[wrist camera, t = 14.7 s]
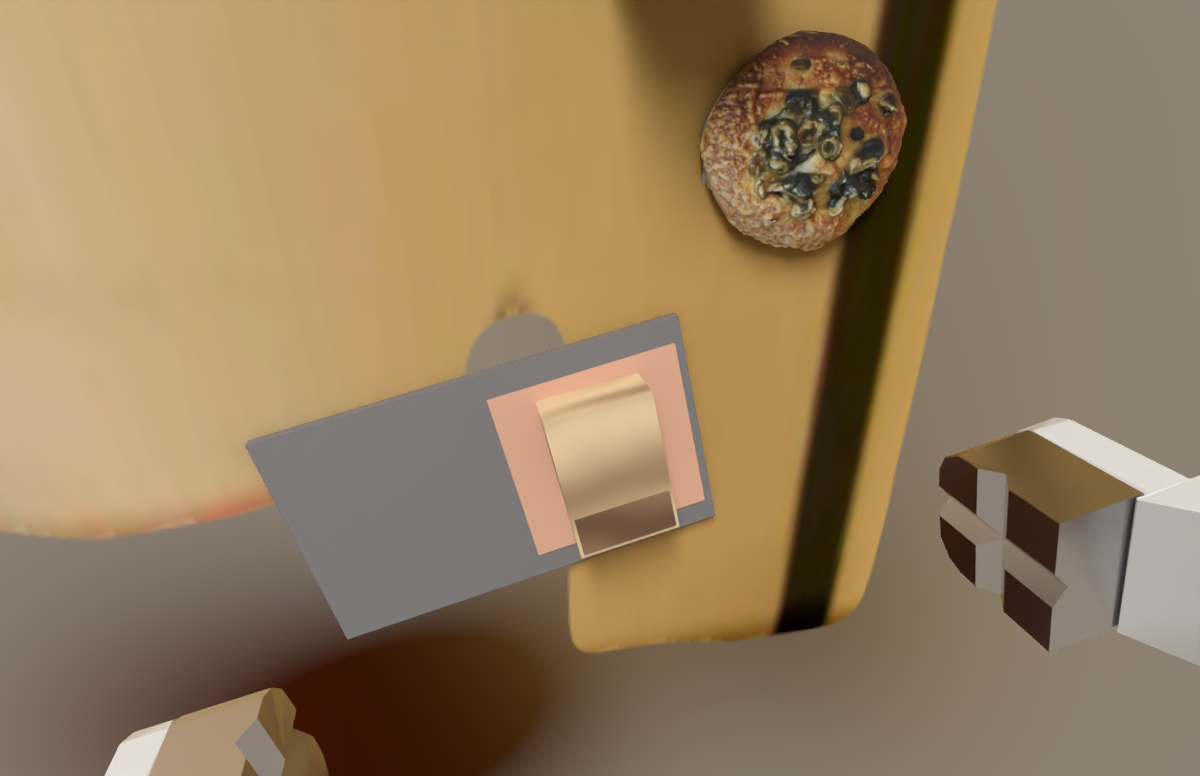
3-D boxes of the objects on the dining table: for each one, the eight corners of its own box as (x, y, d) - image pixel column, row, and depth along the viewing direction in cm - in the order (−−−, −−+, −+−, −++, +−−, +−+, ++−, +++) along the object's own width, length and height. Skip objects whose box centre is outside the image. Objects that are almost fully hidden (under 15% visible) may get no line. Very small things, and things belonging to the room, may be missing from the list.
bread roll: (884, 3, 35) (947, 8, 30) (878, 211, 41) (930, 239, 37) (676, 58, 34) (712, 70, 30) (702, 262, 40) (735, 296, 36)
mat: (348, 632, 42) (347, 640, 41) (248, 440, 36) (244, 447, 35) (711, 510, 45) (715, 516, 44) (674, 312, 39) (678, 316, 38)
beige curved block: (535, 401, 38) (543, 426, 35) (636, 371, 39) (653, 393, 36) (571, 529, 42) (582, 560, 39) (663, 499, 43) (680, 528, 40)
